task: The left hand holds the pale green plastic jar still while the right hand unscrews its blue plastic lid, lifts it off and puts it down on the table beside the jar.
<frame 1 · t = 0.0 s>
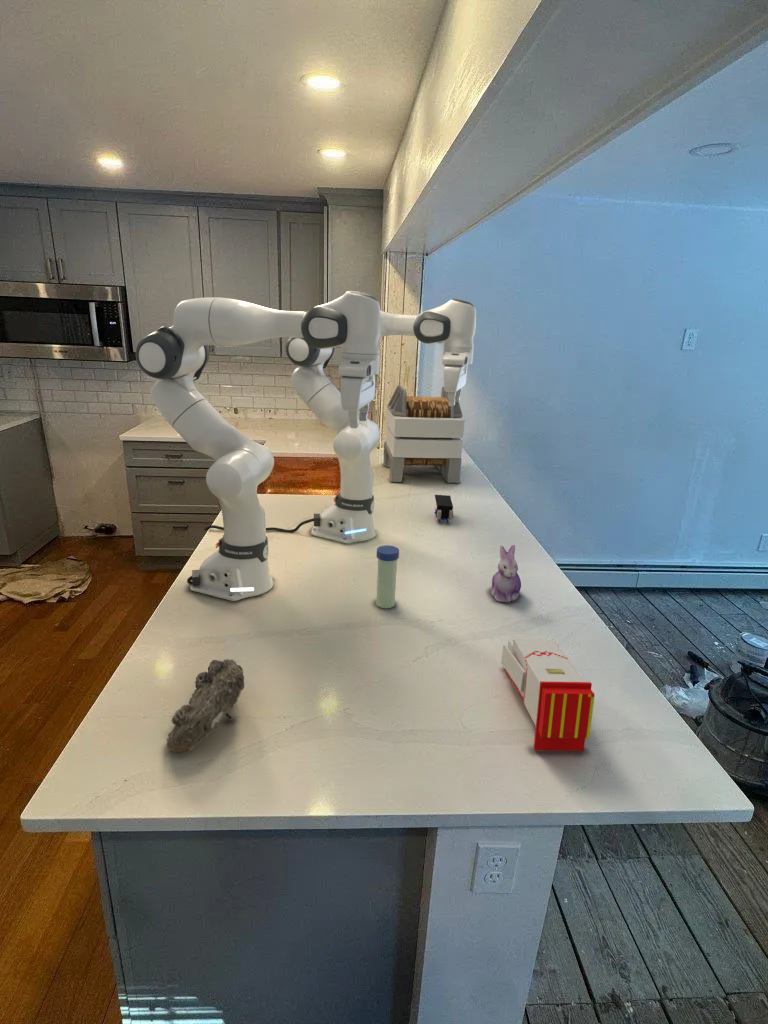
left hand: (358, 424, 137), 48 cm above the counter, tool pointing down, fingers open, 8 cm apart
right hand: (454, 403, 174), 48 cm above the counter, tool pointing down, fingers open, 8 cm apart
toy: (537, 702, 116), on the counter
lid: (388, 550, 147), point 15 cm above the counter, screwed on, not yet turned
transformer: (419, 473, 275), on the counter
jar: (385, 603, 152), on the counter
figurine: (505, 595, 160), on the counter
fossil: (212, 717, 108), on the counter
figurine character: (442, 518, 216), on the counter
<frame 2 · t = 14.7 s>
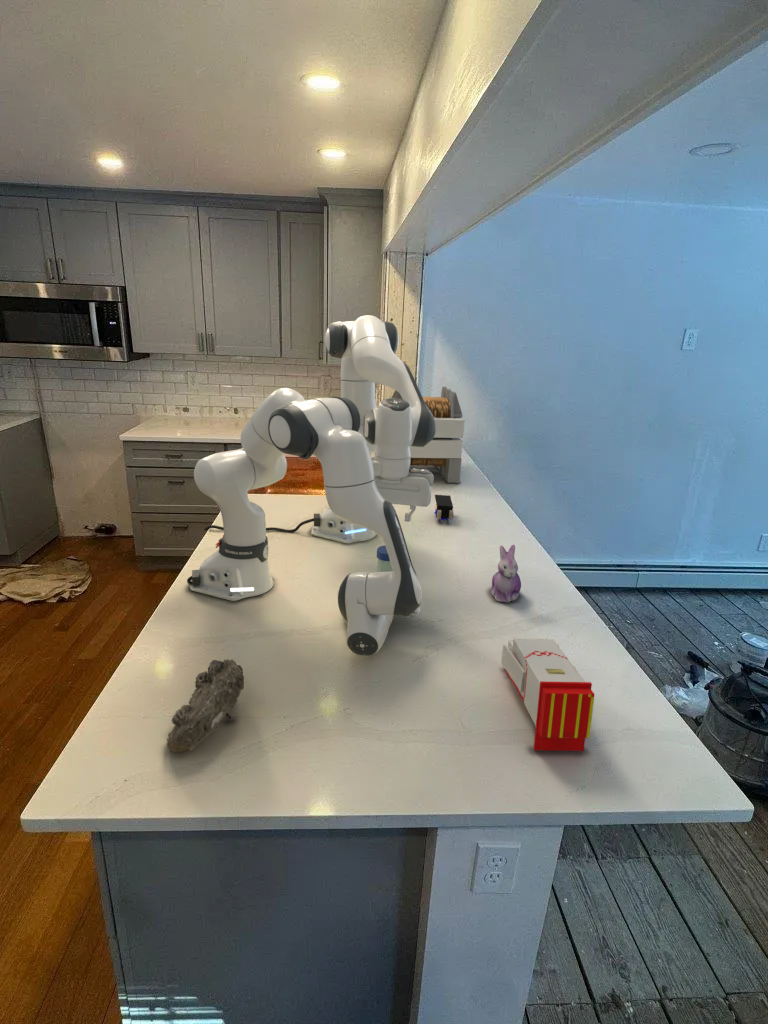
left hand: (386, 585, 151), 5 cm above the counter, tool horizontal, fingers closed on jar, 5 cm apart
right hand: (389, 519, 144), 24 cm above the counter, tool pointing down, fingers open, 8 cm apart
jar: (385, 603, 152), on the counter, touching left hand
everything else where it was.
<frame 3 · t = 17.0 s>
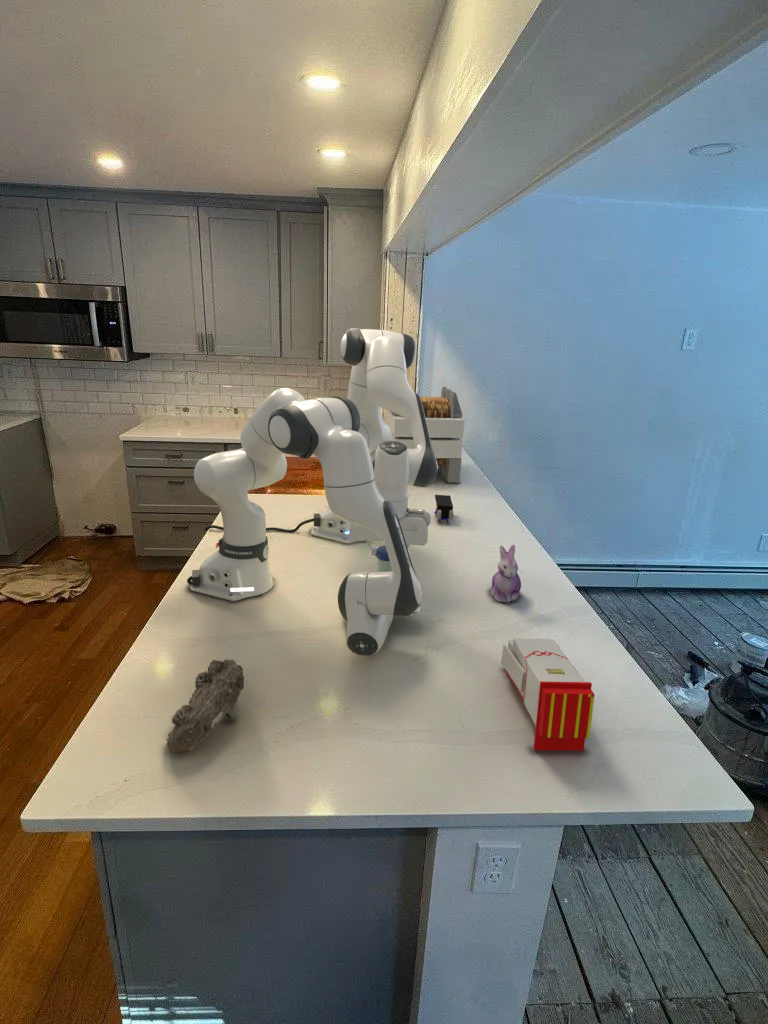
left hand: (386, 585, 151), 5 cm above the counter, tool horizontal, fingers closed on jar, 5 cm apart
right hand: (387, 556, 148), 14 cm above the counter, tool pointing down, fingers closed on lid, 6 cm apart
lid: (388, 551, 147), point 15 cm above the counter, screwed on, not yet turned, touching right hand
jar: (385, 603, 152), on the counter, touching left hand
everything else where it was.
when the right hand's fingers open (14 cm above the counter, at t = 18.3 s): lid stays where it is, point 16 cm above the counter.
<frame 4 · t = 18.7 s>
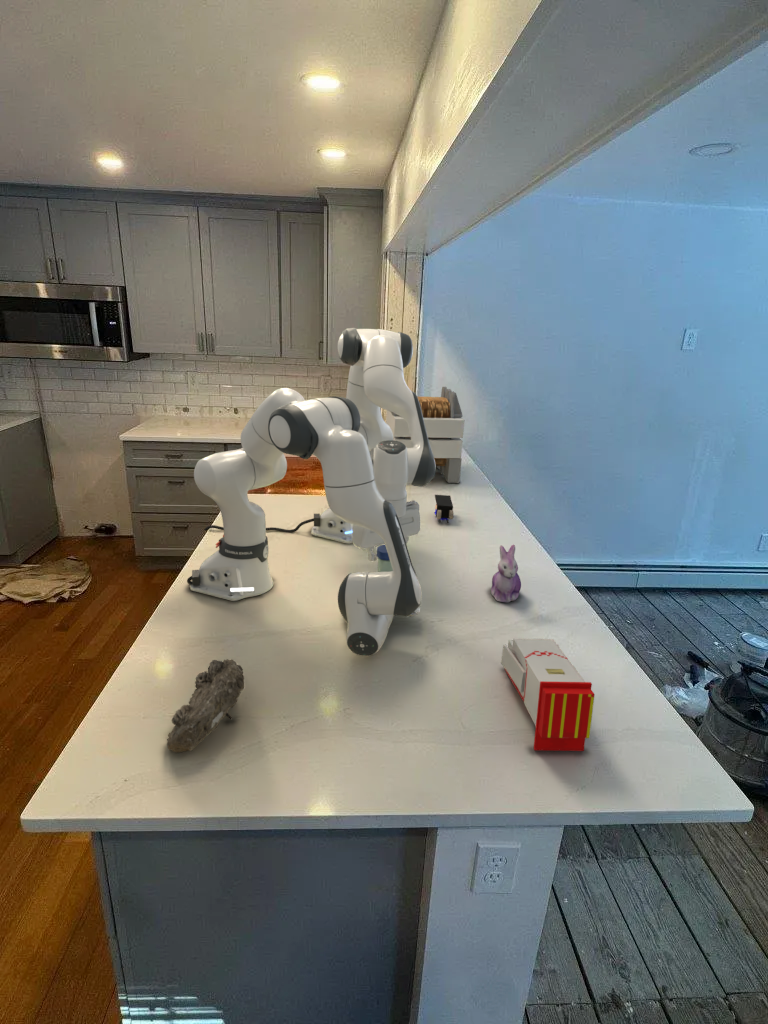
left hand: (386, 585, 151), 5 cm above the counter, tool horizontal, fingers closed on jar, 5 cm apart
right hand: (386, 556, 148), 14 cm above the counter, tool pointing down, fingers open, 8 cm apart
lid: (388, 550, 147), point 16 cm above the counter, turned 70° so far, risen 0.2 cm, still on its thread
jar: (385, 603, 152), on the counter, touching left hand
everything else where it was.
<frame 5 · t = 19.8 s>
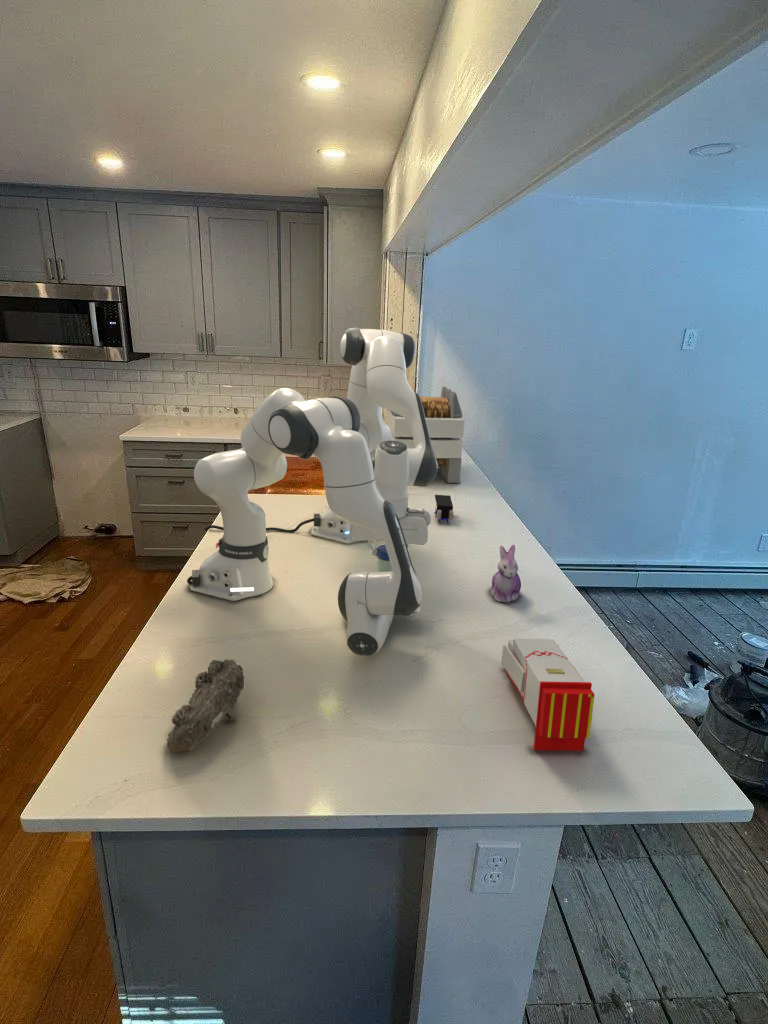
left hand: (386, 585, 152), 5 cm above the counter, tool horizontal, fingers closed on jar, 5 cm apart
right hand: (387, 556, 148), 14 cm above the counter, tool pointing down, fingers closed on lid, 5 cm apart
lid: (388, 549, 147), point 16 cm above the counter, turned 70° so far, risen 0.3 cm, still on its thread, touching right hand
jar: (385, 603, 152), on the counter, touching left hand
everything else where it was.
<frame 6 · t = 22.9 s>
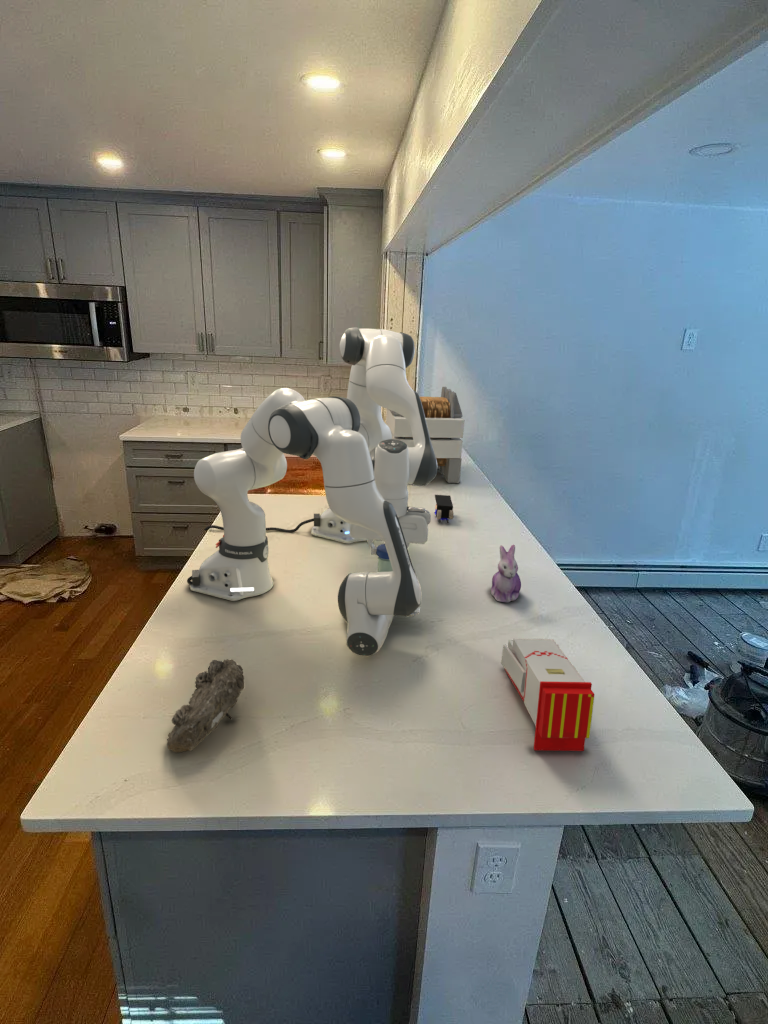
left hand: (386, 585, 151), 5 cm above the counter, tool horizontal, fingers closed on jar, 5 cm apart
right hand: (387, 555, 148), 14 cm above the counter, tool pointing down, fingers closed on lid, 6 cm apart
lid: (388, 549, 147), point 16 cm above the counter, turned 141° so far, risen 0.5 cm, still on its thread, touching right hand
jar: (385, 603, 152), on the counter, touching left hand
everything else where it was.
when the right hand's fingers open (2 cm above the counter, at t = 29.7 s): lid drops 2 cm, point 2 cm above the counter.
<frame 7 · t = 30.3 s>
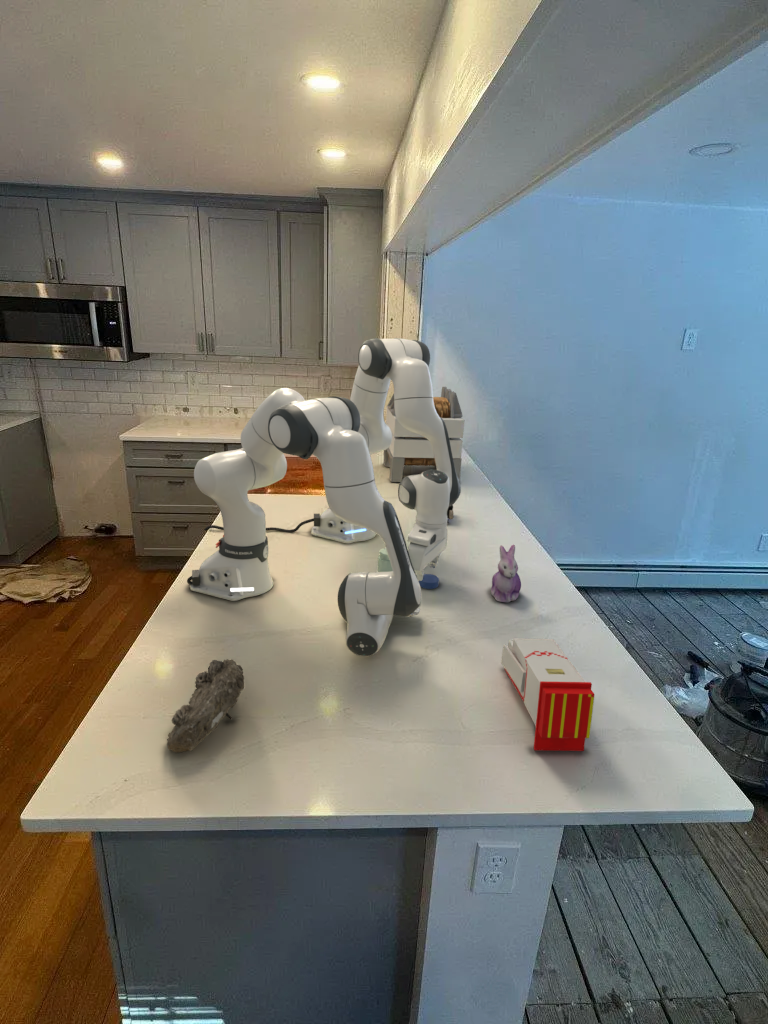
left hand: (386, 585, 151), 5 cm above the counter, tool horizontal, fingers closed on jar, 5 cm apart
right hand: (426, 573, 163), 4 cm above the counter, tool pointing down, fingers open, 8 cm apart
lid: (428, 579, 164), point 2 cm above the counter, off its thread
jar: (385, 603, 152), on the counter, touching left hand
everything else where it was.
when the left hand's fingers open (5 cm above the counter, at t = 30.8 s): jar stays where it is, on the counter.
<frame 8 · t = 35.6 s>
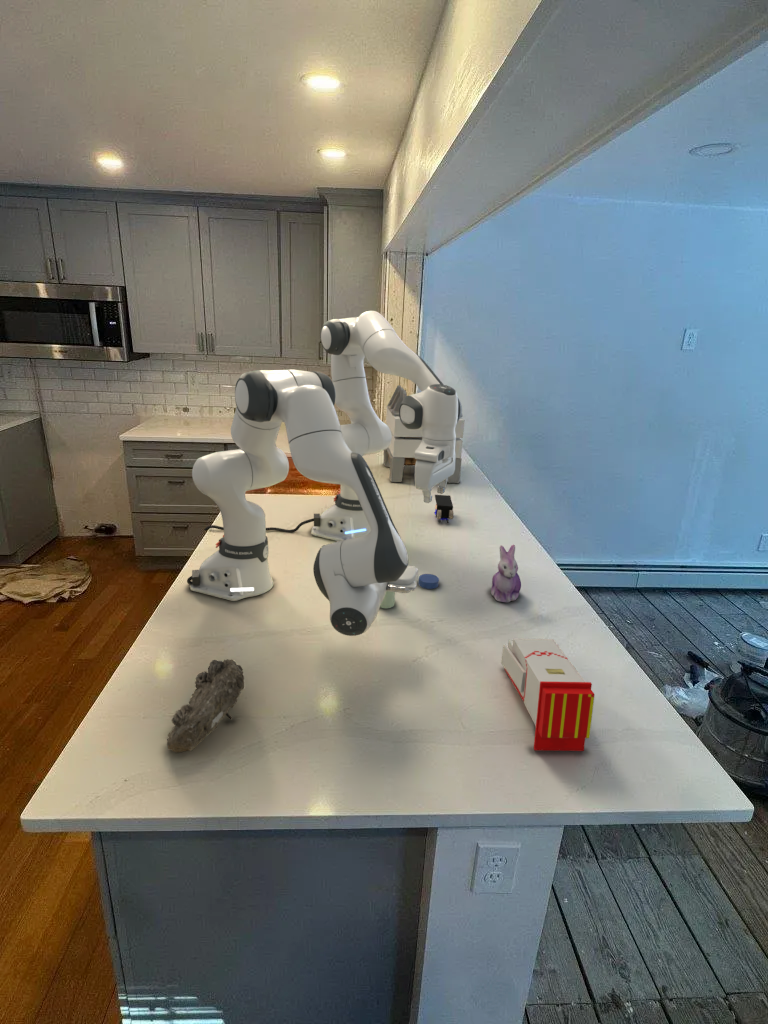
left hand: (379, 559, 135), 18 cm above the counter, tool horizontal, fingers open, 8 cm apart
right hand: (434, 497, 155), 27 cm above the counter, tool pointing down, fingers open, 8 cm apart
jar: (385, 603, 152), on the counter
everything else where it was.
at the end: lid came off its thread; lid point 1.6 cm above the counter; the left hand is holding nothing; the right hand is holding nothing; jar tilted 0°; jar moved 0.1 cm from its start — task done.
